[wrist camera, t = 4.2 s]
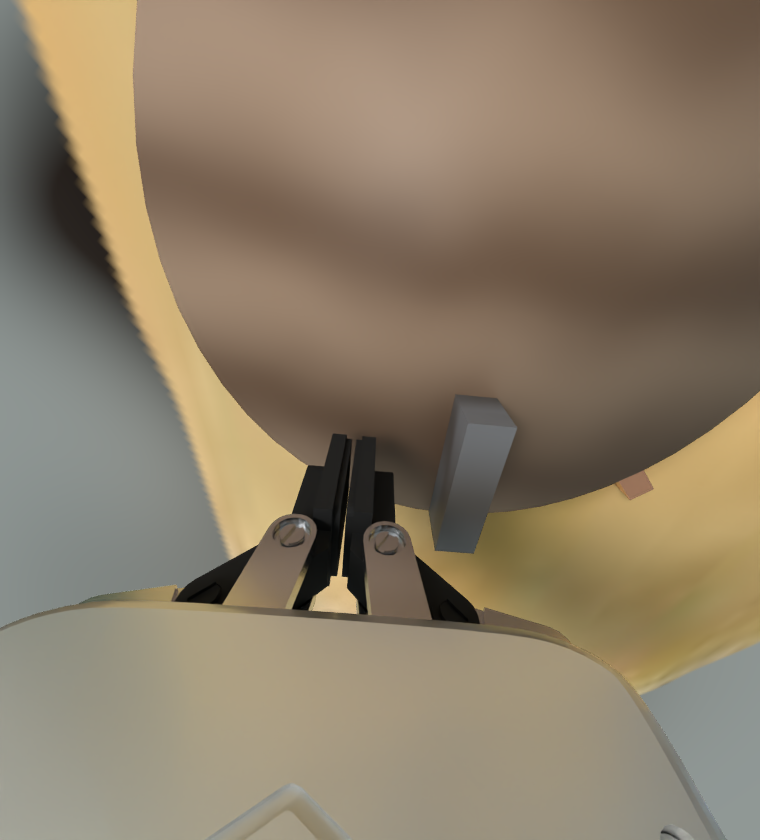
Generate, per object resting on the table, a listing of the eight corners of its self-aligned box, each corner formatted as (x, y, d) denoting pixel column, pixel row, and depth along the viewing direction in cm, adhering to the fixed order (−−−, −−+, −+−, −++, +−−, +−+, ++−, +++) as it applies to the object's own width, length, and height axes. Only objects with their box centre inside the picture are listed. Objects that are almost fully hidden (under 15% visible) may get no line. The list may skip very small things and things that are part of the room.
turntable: (73, -476, 6) (-426, -1614, 2) (1143, -284, 7) (2066, -917, 3) (226, 463, 17) (180, 530, 13) (642, 498, 18) (713, 572, 14)
